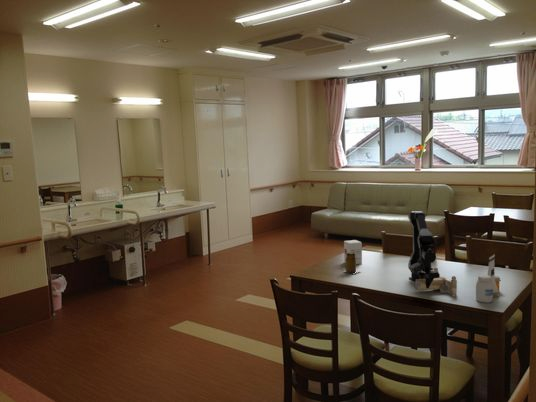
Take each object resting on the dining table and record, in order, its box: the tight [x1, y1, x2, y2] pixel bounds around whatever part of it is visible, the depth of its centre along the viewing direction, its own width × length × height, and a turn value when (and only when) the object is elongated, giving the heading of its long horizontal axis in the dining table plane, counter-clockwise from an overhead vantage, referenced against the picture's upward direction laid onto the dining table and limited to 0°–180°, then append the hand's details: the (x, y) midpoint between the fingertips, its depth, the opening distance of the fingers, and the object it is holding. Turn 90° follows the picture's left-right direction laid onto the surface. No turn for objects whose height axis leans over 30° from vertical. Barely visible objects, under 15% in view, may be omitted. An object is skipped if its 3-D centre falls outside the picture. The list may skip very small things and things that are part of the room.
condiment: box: [345, 252, 357, 275], centre depth 287 cm, size 7×8×12 cm
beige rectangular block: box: [415, 278, 444, 292], centre depth 246 cm, size 4×14×5 cm, turn 99°
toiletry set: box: [475, 253, 501, 304], centre depth 234 cm, size 25×8×21 cm, turn 139°
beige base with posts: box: [433, 267, 458, 297], centre depth 247 cm, size 20×5×10 cm, turn 9°
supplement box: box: [343, 239, 363, 265], centre depth 309 cm, size 9×9×15 cm
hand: (425, 287), depth 245 cm, fingers closed on beige rectangular block, 4 cm apart
